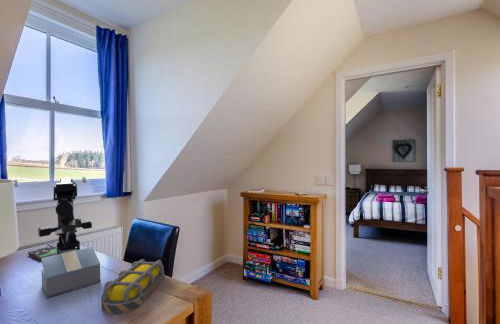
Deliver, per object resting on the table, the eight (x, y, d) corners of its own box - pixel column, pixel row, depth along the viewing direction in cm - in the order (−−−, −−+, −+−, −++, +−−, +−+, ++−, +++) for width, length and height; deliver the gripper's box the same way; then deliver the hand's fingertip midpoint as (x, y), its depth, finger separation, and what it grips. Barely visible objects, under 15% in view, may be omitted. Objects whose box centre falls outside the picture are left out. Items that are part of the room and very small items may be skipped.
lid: (41, 260, 107) (41, 257, 106) (92, 248, 119) (92, 246, 119) (46, 279, 98) (46, 277, 98) (100, 265, 111) (100, 263, 110)
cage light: (169, 257, 117) (131, 292, 88) (169, 274, 118) (132, 316, 88) (138, 255, 119) (91, 290, 89) (138, 273, 119) (91, 313, 90)
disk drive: (27, 257, 139) (40, 262, 132) (27, 252, 139) (40, 257, 132) (50, 250, 148) (63, 255, 141) (50, 245, 148) (63, 250, 140)
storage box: (42, 286, 107) (41, 269, 107) (92, 272, 120) (91, 257, 120) (46, 298, 98) (46, 280, 98) (100, 281, 111) (100, 265, 111)
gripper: (40, 218, 102) (41, 258, 103) (95, 211, 115) (95, 246, 116) (37, 214, 110) (38, 251, 111) (88, 207, 123) (89, 240, 124)
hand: (66, 247), depth 115 cm, fingers closed
